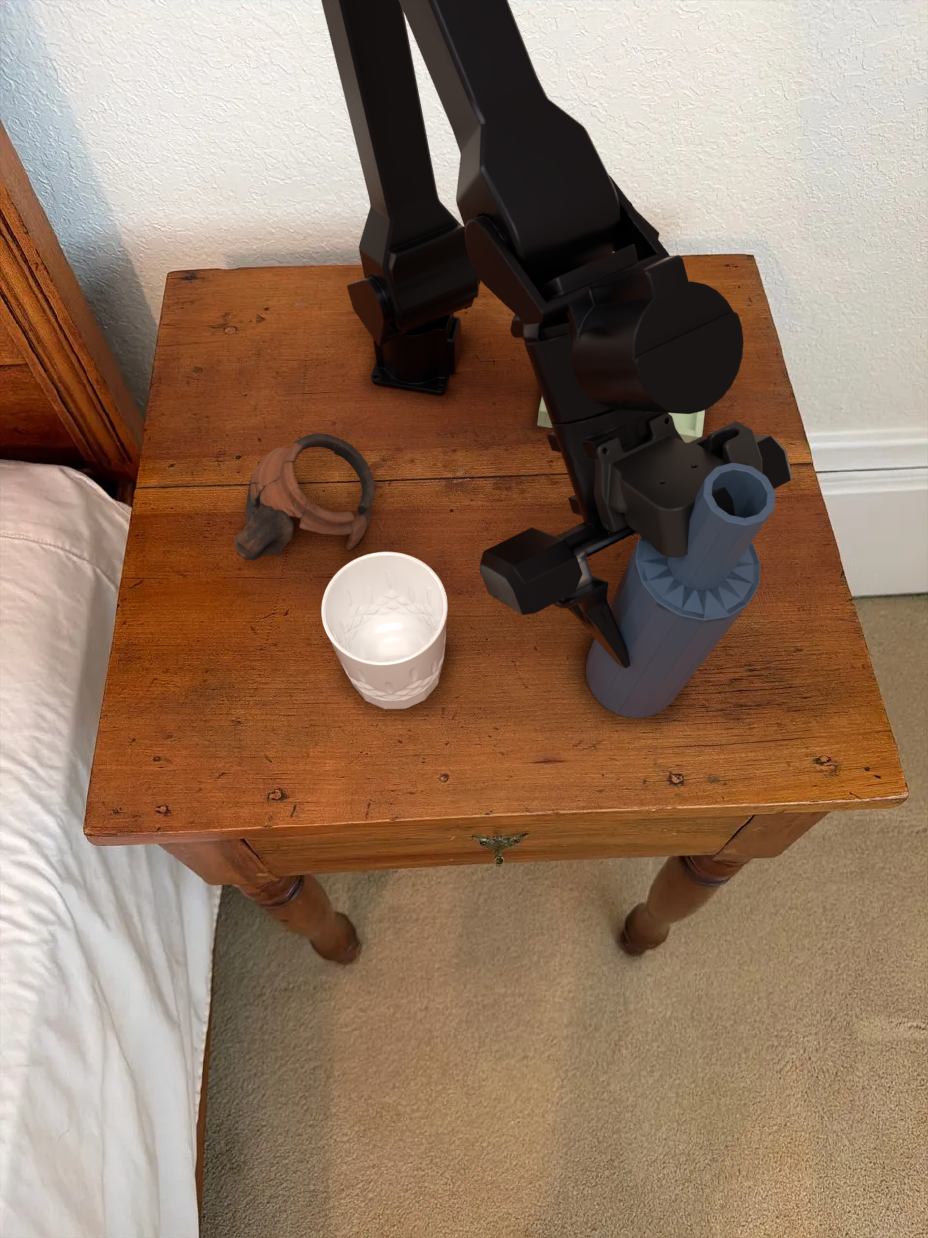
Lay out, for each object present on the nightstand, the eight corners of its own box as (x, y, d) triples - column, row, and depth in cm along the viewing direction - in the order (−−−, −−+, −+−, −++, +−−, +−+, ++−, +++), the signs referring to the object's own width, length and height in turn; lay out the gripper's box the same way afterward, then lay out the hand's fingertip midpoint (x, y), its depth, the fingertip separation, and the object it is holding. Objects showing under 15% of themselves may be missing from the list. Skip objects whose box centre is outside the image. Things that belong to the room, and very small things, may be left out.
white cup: (437, 728, 62) (432, 675, 53) (329, 706, 63) (306, 651, 54) (460, 628, 65) (458, 562, 56) (357, 609, 66) (339, 541, 57)
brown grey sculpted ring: (278, 454, 73) (316, 399, 66) (364, 532, 74) (409, 485, 68) (184, 543, 66) (217, 491, 59) (282, 627, 67) (324, 585, 61)
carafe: (578, 707, 63) (660, 539, 41) (592, 621, 65) (676, 422, 43) (673, 727, 62) (807, 569, 40) (683, 640, 65) (814, 449, 43)
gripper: (512, 489, 40) (610, 762, 46) (832, 335, 44) (886, 604, 50) (436, 466, 51) (524, 692, 56) (701, 342, 54) (759, 566, 60)
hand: (671, 639), depth 55 cm, fingers closed on carafe, 7 cm apart
